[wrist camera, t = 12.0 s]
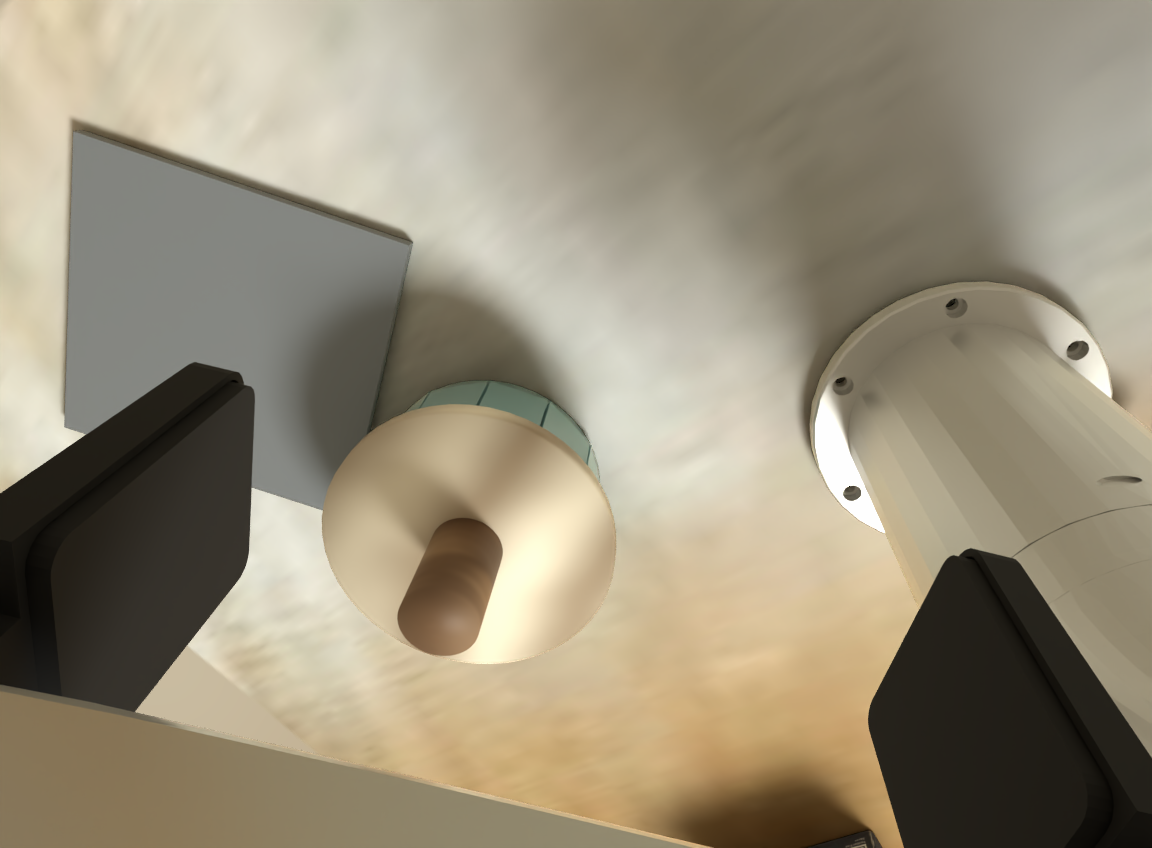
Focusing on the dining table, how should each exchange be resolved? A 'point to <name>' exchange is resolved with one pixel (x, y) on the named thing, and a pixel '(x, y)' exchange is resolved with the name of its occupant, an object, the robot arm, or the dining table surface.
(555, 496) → the lid
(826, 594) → the dining table surface
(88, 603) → the robot arm
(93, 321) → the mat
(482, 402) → the bowl
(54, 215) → the dining table surface
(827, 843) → the small box
